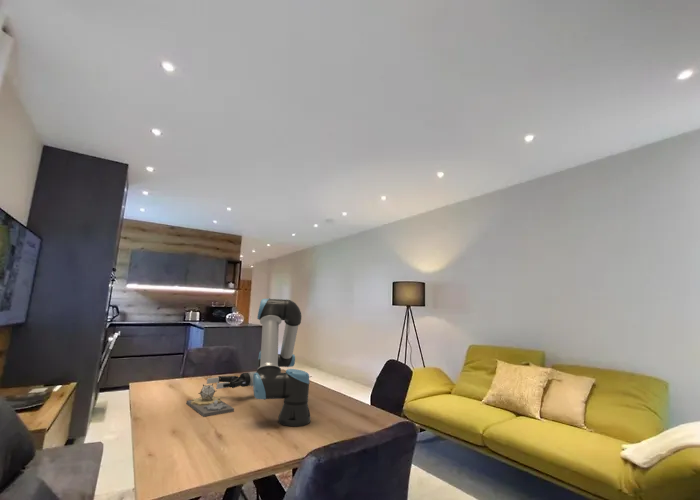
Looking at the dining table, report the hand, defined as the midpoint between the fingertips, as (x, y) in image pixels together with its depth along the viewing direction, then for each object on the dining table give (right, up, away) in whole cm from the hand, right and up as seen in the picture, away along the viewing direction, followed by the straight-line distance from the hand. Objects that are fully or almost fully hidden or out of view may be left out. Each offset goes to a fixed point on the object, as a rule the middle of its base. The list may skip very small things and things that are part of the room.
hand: (211, 383), depth 180 cm
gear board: (+2, -10, -7) cm, 12 cm away
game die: (-1, -8, -3) cm, 8 cm away
